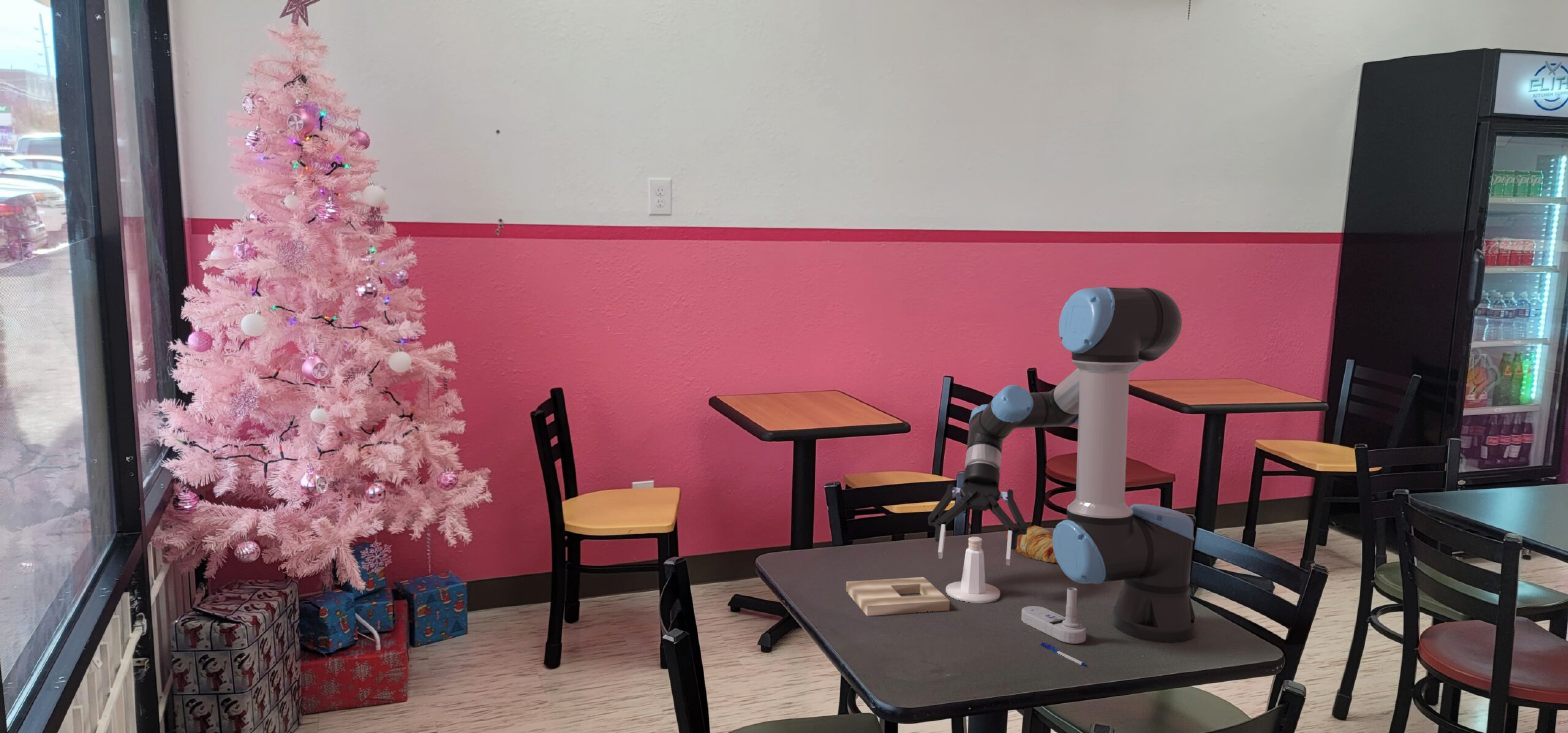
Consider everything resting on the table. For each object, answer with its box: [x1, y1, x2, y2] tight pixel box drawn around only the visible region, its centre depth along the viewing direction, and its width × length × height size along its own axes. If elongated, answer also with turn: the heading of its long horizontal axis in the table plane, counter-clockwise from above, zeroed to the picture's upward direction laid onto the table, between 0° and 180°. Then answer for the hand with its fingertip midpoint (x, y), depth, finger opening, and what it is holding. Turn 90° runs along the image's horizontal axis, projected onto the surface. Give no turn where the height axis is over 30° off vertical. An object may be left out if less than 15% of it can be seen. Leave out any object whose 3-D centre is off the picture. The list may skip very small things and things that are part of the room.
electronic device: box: [1021, 586, 1087, 645], centre depth 192 cm, size 5×10×15 cm
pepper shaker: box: [961, 536, 986, 594], centre depth 211 cm, size 5×5×11 cm
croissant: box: [1005, 524, 1059, 565], centre depth 238 cm, size 21×10×8 cm, turn 30°
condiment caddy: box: [845, 576, 951, 617], centre depth 206 cm, size 14×17×2 cm
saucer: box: [945, 580, 1001, 604], centre depth 211 cm, size 11×11×1 cm
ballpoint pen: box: [1040, 642, 1087, 667], centre depth 181 cm, size 10×1×1 cm, turn 33°
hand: (973, 559), depth 208 cm, fingers open, 13 cm apart
